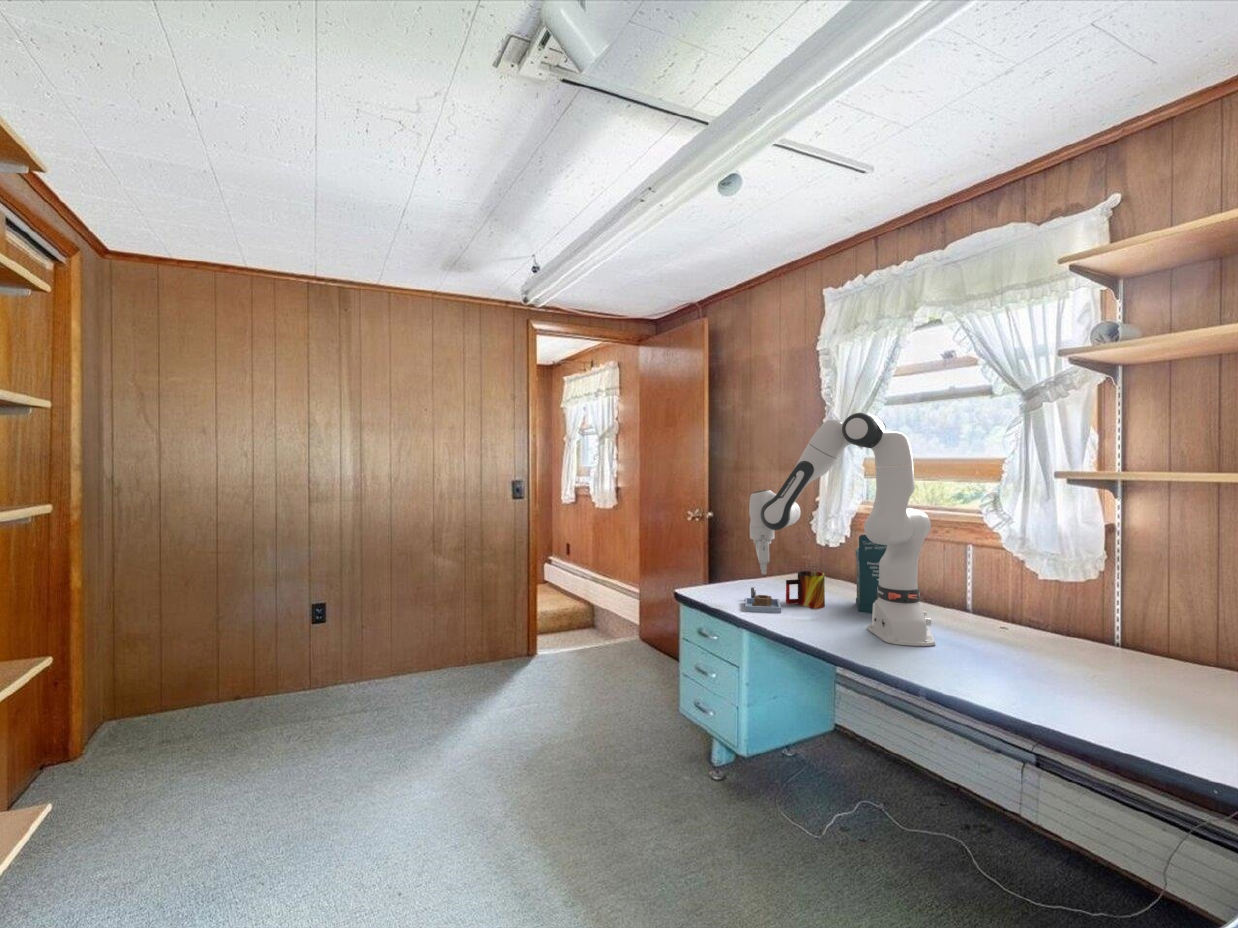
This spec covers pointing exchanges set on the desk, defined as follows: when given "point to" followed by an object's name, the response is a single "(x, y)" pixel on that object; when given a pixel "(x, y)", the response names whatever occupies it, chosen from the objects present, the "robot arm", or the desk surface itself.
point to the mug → (808, 589)
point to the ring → (762, 601)
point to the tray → (774, 609)
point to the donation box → (868, 573)
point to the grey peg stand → (752, 592)
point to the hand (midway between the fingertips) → (763, 571)
